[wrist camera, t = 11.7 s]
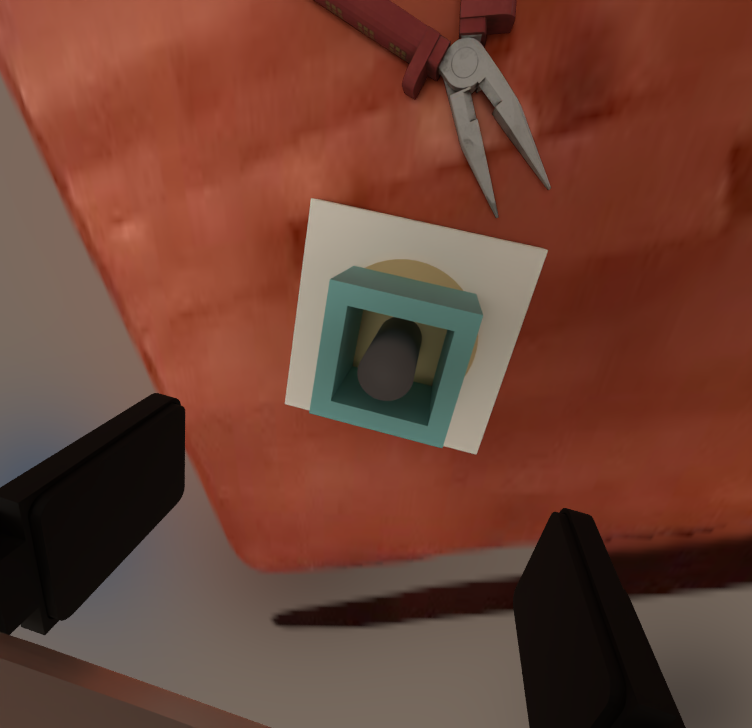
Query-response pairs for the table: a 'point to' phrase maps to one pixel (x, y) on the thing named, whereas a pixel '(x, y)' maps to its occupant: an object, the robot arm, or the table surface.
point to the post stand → (407, 338)
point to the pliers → (452, 70)
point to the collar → (422, 402)
